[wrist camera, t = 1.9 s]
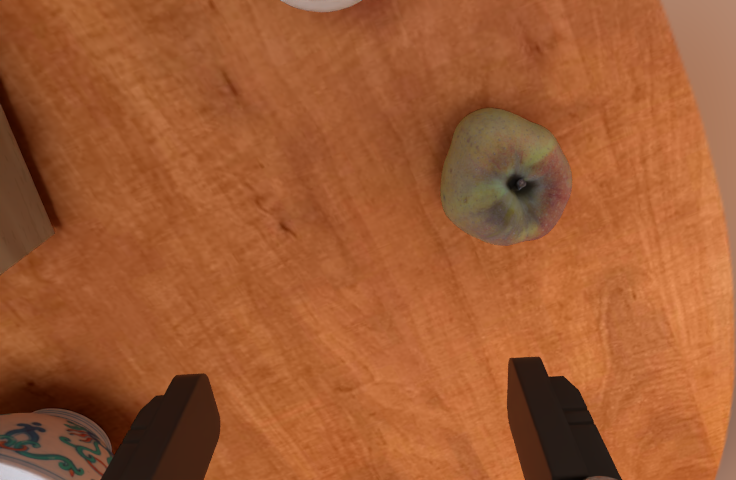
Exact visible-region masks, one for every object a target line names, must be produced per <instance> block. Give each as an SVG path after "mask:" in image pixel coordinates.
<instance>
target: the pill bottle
mask: <svg viewBox="0 0 736 480" xmlns="http://www.w3.org/2000/svg"><path fill="white" fill-rule="evenodd" d="M280 1H282V2H284V3H286V4H288V5H290V6H292V7H295V8H297V9H302V10H306V11H314V12H332V11H338V10H342V9H345V8H348V7H351V6H353V5H355V4H357V3H359V2H360V1H362V0H280Z"/></svg>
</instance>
